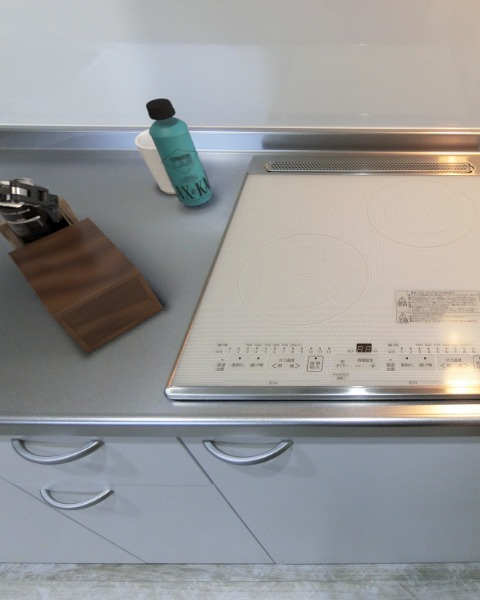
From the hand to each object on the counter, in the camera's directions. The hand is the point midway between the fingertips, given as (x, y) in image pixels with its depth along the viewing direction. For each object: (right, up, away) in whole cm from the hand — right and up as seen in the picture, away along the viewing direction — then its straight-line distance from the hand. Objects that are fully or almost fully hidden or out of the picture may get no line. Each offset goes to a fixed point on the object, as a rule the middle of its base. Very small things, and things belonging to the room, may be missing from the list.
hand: (33, 202), depth 68 cm
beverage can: (0, -7, +5) cm, 9 cm away
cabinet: (+10, -15, +1) cm, 19 cm away
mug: (+11, +9, +23) cm, 27 cm away
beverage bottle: (+18, +4, +18) cm, 26 cm away
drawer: (0, -8, +7) cm, 10 cm away
